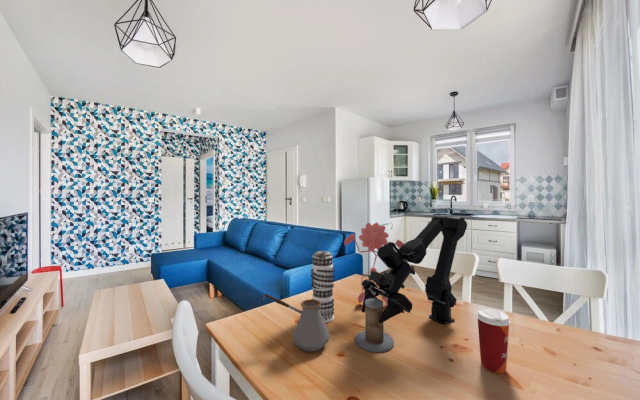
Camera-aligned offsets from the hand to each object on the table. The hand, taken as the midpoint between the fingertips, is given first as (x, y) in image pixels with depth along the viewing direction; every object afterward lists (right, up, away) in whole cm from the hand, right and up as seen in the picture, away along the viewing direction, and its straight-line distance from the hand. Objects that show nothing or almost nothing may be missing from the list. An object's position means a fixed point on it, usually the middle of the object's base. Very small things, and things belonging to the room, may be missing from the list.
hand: (370, 317), depth 82 cm
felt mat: (+1, -8, +1) cm, 8 cm away
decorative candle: (-15, -8, +18) cm, 25 cm away
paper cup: (+31, -8, -12) cm, 34 cm away
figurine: (+8, -8, +32) cm, 34 cm away
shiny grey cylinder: (+1, -7, +1) cm, 8 cm away
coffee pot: (-23, -8, 0) cm, 25 cm away
